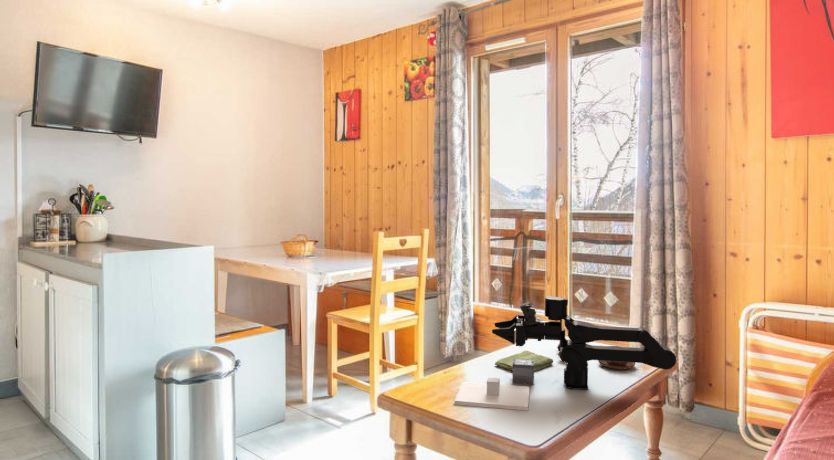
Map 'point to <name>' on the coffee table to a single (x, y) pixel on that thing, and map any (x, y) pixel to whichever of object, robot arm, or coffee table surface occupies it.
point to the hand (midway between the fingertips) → (493, 327)
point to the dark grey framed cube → (523, 371)
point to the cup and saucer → (617, 364)
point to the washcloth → (538, 359)
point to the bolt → (560, 352)
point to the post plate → (493, 395)
